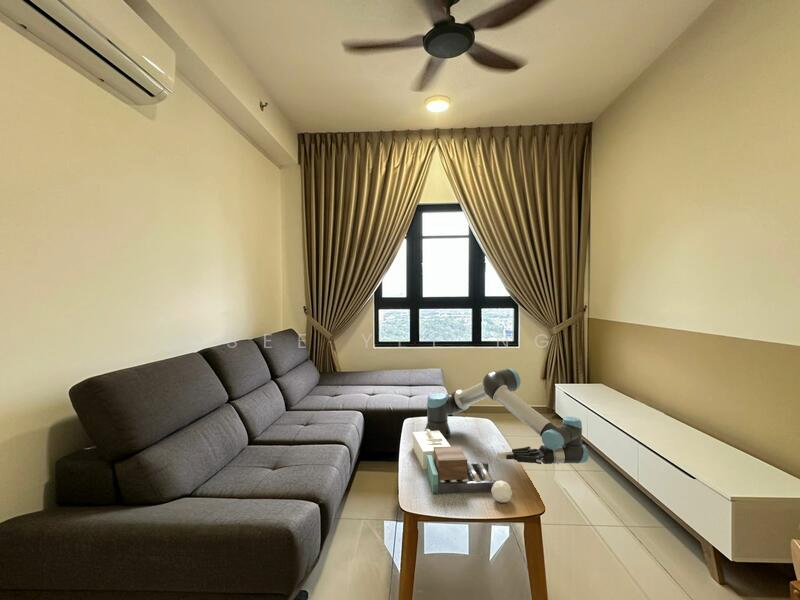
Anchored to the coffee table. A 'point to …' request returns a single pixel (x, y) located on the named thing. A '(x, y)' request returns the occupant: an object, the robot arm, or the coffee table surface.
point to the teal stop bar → (432, 473)
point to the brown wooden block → (450, 463)
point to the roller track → (467, 485)
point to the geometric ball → (501, 491)
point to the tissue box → (427, 444)
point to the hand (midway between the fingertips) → (498, 455)
